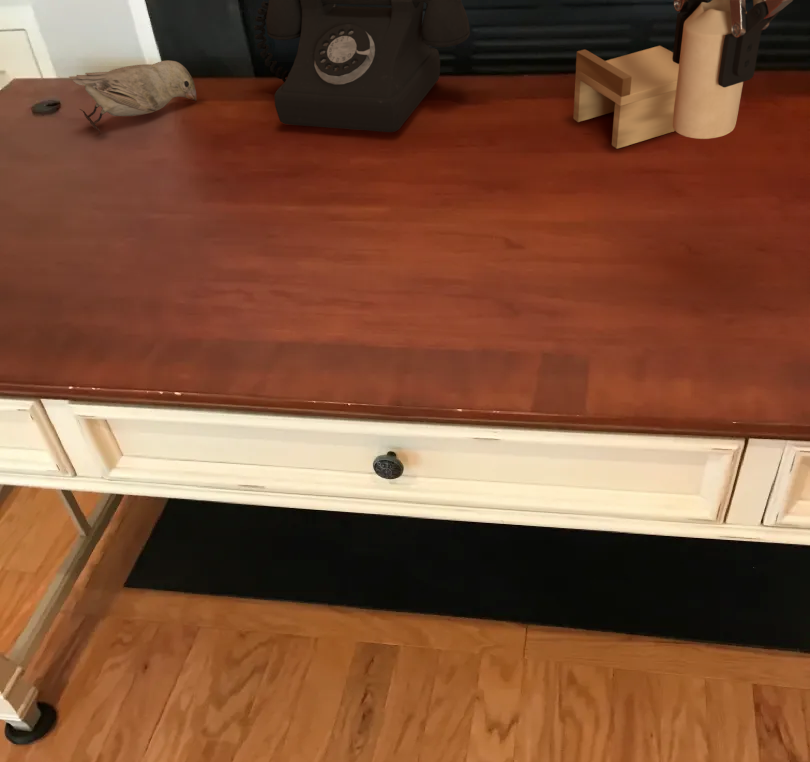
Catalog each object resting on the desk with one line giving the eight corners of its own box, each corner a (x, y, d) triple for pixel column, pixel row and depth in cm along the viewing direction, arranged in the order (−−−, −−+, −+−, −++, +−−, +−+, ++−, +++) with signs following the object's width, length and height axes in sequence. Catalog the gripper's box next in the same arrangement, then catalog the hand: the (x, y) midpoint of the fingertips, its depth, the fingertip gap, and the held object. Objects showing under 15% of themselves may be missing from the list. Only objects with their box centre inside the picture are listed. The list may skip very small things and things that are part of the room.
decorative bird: (204, 106, 126) (190, 50, 121) (94, 140, 122) (74, 83, 117) (191, 94, 130) (177, 38, 124) (84, 127, 125) (64, 71, 120)
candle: (724, 143, 78) (744, 18, 71) (662, 134, 81) (676, 12, 73) (743, 116, 81) (765, -7, 74) (684, 109, 83) (699, -12, 76)
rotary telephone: (481, 85, 123) (478, -40, 112) (440, 143, 112) (432, 11, 101) (283, 74, 132) (262, -43, 121) (228, 126, 121) (199, 3, 110)
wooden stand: (654, 95, 116) (661, 27, 110) (701, 123, 110) (712, 53, 104) (573, 118, 114) (576, 51, 108) (616, 149, 107) (622, 79, 101)
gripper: (881, -192, 59) (816, 91, 73) (717, -220, 70) (687, 31, 84) (788, -168, 58) (740, 117, 71) (635, -201, 69) (618, 51, 82)
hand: (711, 68), depth 77 cm, fingers closed on candle, 5 cm apart
